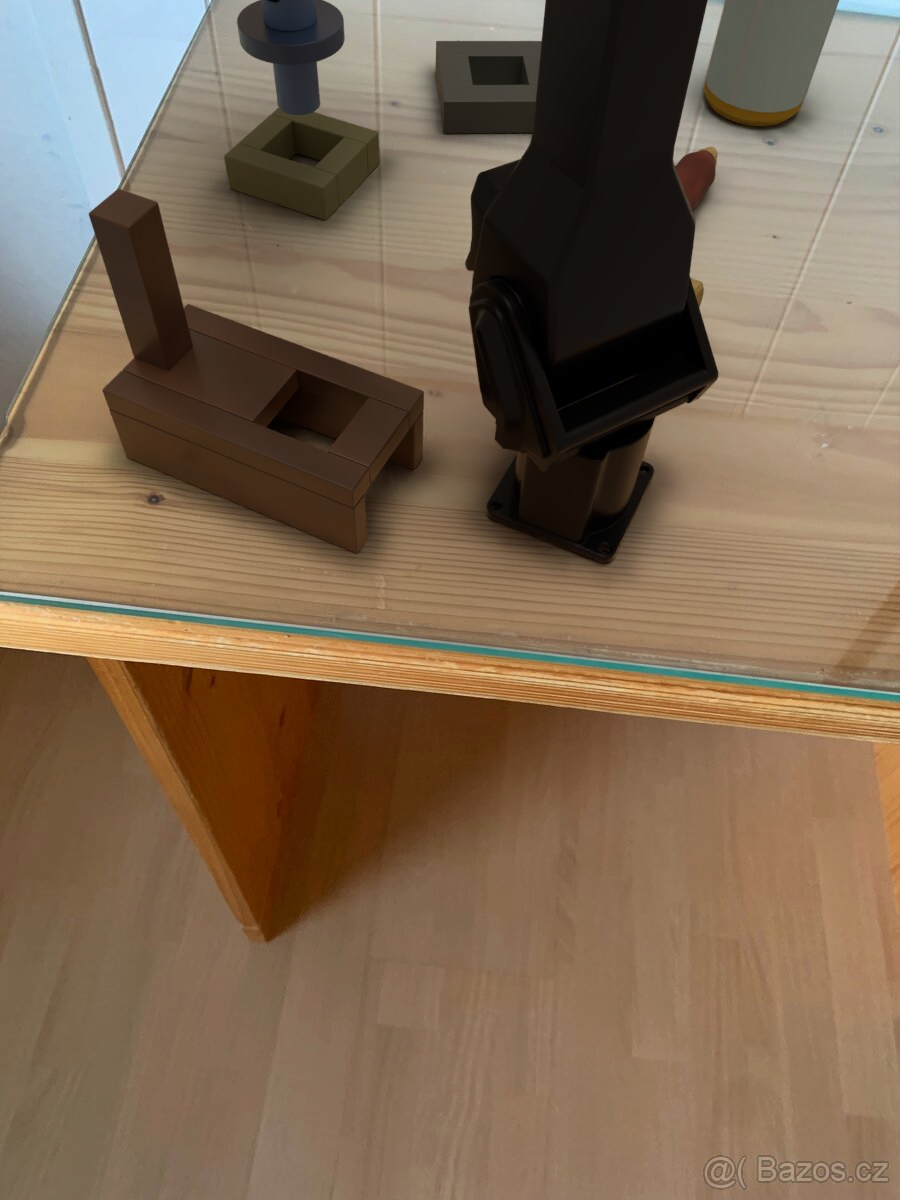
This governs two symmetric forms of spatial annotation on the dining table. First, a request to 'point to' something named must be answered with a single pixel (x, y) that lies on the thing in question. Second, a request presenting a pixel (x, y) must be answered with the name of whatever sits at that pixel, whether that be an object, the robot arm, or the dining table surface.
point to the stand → (243, 395)
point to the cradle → (295, 185)
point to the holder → (487, 85)
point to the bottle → (766, 58)
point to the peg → (292, 45)
